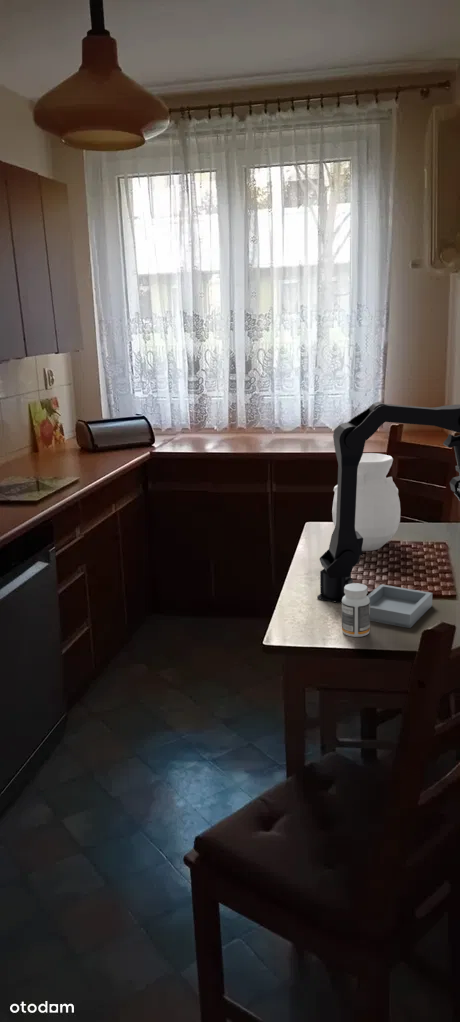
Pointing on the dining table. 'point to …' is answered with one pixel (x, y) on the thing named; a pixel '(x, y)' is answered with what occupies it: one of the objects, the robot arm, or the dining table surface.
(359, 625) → the pill bottle
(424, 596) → the tray
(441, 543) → the dining table surface
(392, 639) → the dining table surface
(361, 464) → the pitcher
